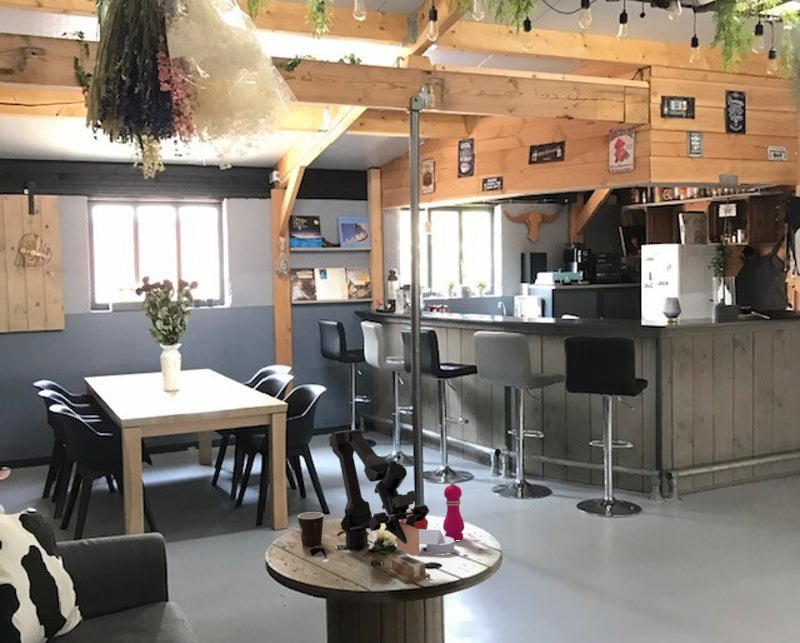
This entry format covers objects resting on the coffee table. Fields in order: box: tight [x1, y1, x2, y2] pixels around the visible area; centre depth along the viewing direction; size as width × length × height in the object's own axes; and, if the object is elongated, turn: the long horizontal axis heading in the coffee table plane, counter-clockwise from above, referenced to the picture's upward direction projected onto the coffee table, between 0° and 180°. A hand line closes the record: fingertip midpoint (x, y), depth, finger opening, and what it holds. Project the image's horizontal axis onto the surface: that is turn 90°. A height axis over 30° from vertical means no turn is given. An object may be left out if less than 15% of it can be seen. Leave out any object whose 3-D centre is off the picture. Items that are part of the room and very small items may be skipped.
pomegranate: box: [399, 507, 429, 530], centre depth 285 cm, size 10×10×9 cm
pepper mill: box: [442, 480, 465, 541], centre depth 278 cm, size 7×7×20 cm
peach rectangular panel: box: [395, 523, 420, 557], centre depth 244 cm, size 9×2×8 cm, turn 31°
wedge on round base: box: [419, 528, 455, 555], centre depth 268 cm, size 9×7×13 cm
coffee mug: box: [297, 511, 324, 548], centre depth 276 cm, size 12×9×10 cm
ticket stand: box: [387, 553, 431, 585], centre depth 244 cm, size 11×8×5 cm
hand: (410, 542), depth 243 cm, fingers closed on peach rectangular panel, 2 cm apart
